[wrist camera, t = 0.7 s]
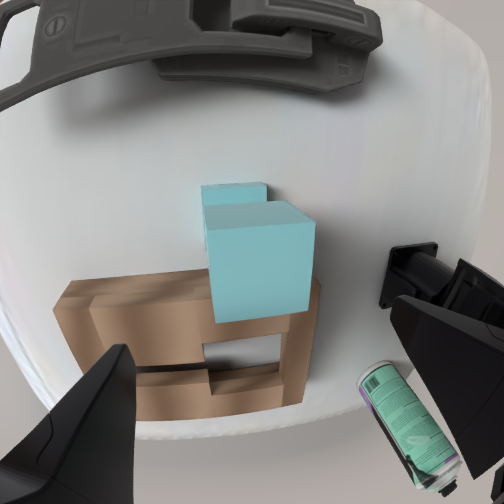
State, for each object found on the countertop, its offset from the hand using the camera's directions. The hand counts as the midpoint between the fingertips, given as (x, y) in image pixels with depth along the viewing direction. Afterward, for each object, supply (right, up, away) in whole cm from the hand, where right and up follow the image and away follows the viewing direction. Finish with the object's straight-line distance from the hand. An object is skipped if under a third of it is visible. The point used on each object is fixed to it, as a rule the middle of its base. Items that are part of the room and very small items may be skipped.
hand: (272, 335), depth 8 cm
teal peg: (-2, +5, +10) cm, 12 cm away
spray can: (+15, -13, +22) cm, 30 cm away
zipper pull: (-5, +17, +5) cm, 18 cm away
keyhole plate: (-6, -5, +14) cm, 16 cm away
